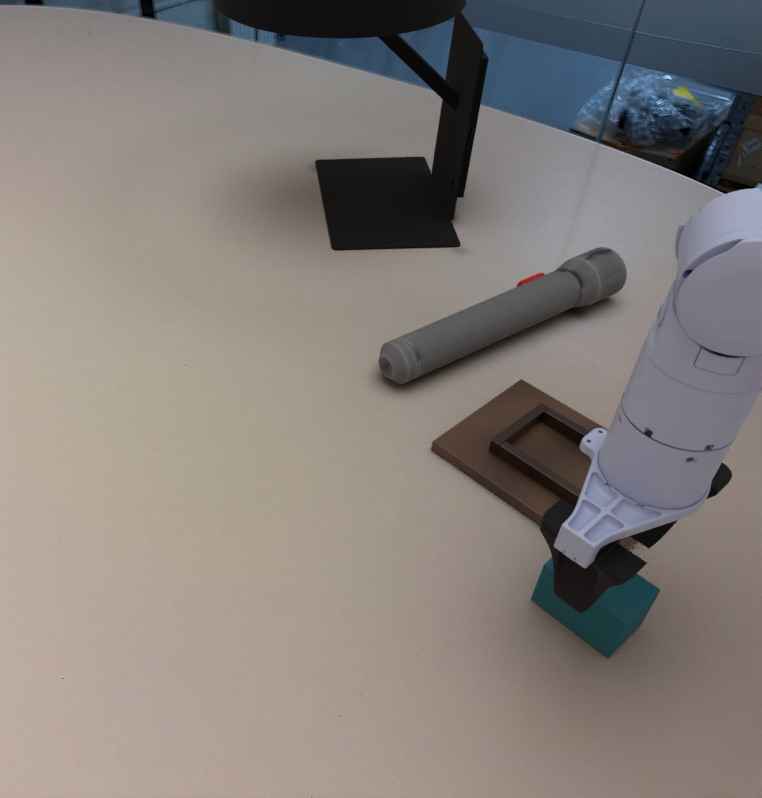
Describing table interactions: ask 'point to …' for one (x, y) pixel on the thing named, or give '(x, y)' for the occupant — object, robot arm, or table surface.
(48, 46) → the table surface
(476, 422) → the brown board with frame
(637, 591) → the teal block
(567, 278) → the flashlight
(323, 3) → the table lamp
